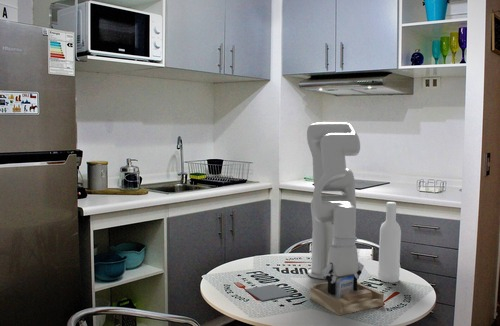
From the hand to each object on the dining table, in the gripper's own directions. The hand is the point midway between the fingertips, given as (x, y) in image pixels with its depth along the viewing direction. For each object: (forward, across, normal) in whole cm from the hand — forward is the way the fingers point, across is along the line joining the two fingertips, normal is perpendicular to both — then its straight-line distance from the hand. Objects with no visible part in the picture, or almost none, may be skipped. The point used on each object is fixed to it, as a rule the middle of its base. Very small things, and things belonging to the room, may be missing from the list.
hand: (342, 291), depth 171 cm
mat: (+3, +19, -18) cm, 26 cm away
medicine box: (+3, 0, -1) cm, 3 cm away
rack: (+3, 0, +2) cm, 4 cm away
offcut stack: (+3, 0, +6) cm, 7 cm away
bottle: (+3, -30, -10) cm, 32 cm away
